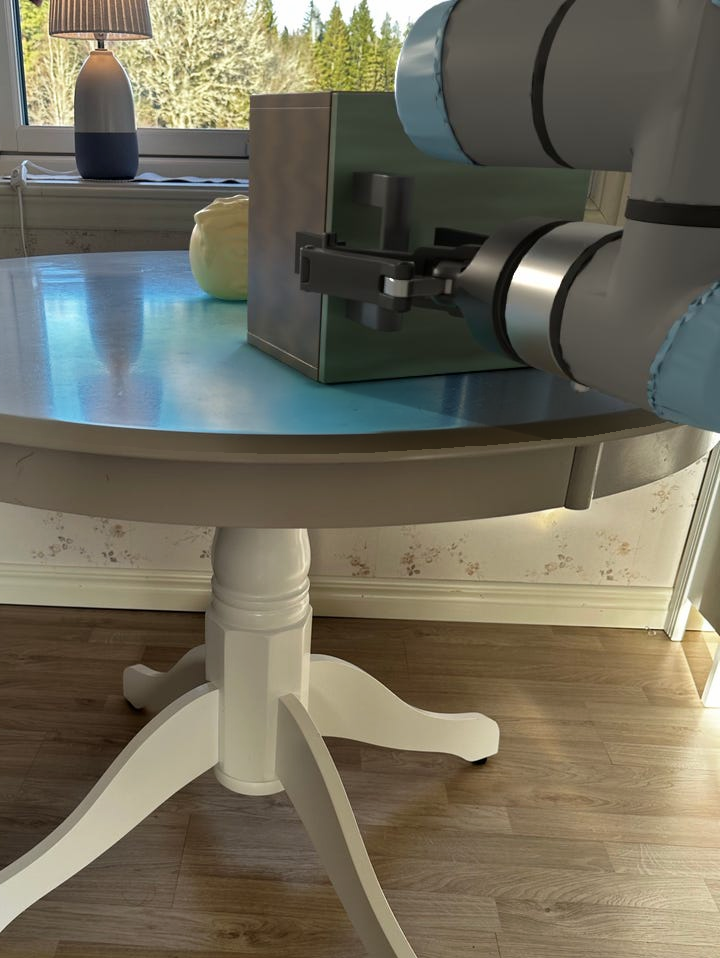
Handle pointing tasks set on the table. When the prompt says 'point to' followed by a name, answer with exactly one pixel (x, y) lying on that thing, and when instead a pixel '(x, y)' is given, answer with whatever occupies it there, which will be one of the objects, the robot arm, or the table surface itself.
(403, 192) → the cupboard door
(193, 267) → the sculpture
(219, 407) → the table surface
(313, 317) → the cupboard
